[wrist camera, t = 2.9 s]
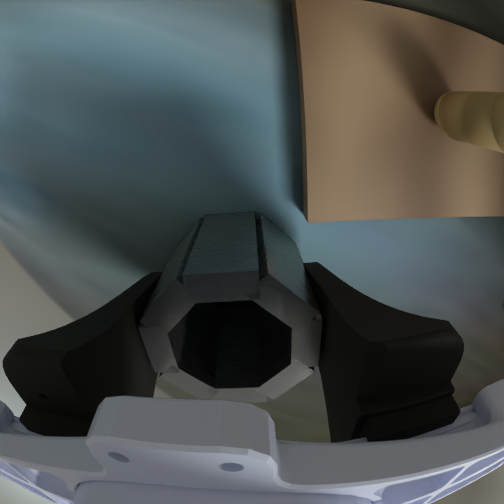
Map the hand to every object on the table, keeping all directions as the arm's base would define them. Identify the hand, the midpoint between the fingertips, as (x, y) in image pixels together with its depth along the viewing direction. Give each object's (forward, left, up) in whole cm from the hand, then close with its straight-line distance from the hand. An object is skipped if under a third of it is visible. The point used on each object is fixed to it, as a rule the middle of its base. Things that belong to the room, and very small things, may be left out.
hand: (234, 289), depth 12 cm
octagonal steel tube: (0, 0, -1) cm, 1 cm away
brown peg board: (-9, -7, -1) cm, 11 cm away
